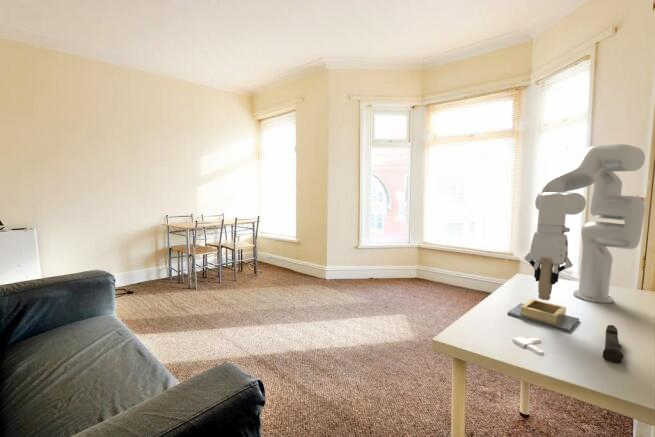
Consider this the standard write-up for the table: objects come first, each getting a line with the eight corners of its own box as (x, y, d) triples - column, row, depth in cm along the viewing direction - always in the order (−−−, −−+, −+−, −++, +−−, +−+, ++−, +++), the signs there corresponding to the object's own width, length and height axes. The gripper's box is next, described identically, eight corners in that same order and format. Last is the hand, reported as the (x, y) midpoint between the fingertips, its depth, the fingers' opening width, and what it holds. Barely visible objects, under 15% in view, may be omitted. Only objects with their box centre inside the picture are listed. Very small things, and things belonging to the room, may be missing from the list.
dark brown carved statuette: (622, 366, 82) (624, 349, 81) (601, 360, 85) (603, 344, 84) (622, 340, 96) (624, 326, 95) (604, 336, 99) (606, 322, 98)
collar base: (520, 305, 122) (521, 295, 121) (579, 321, 108) (580, 310, 108) (507, 314, 113) (508, 303, 113) (569, 332, 100) (570, 320, 99)
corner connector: (558, 353, 89) (559, 347, 89) (536, 357, 87) (537, 352, 87) (532, 339, 97) (533, 334, 97) (512, 343, 94) (512, 338, 94)
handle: (551, 303, 106) (555, 259, 104) (530, 297, 111) (534, 255, 110) (557, 300, 109) (561, 257, 107) (536, 295, 114) (540, 254, 112)
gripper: (584, 231, 103) (578, 286, 106) (526, 226, 116) (522, 274, 118) (578, 233, 99) (572, 290, 101) (519, 227, 111) (514, 278, 113)
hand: (545, 281), depth 109 cm, fingers closed on handle, 3 cm apart
